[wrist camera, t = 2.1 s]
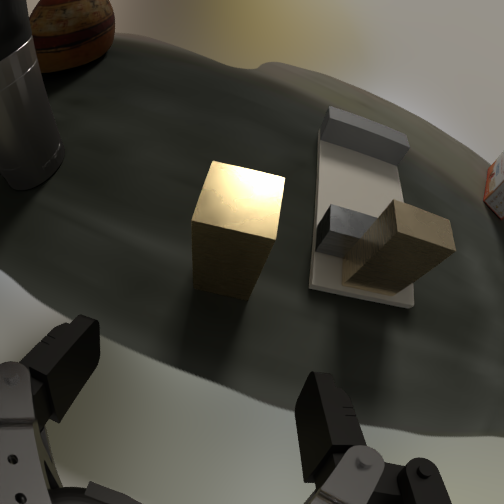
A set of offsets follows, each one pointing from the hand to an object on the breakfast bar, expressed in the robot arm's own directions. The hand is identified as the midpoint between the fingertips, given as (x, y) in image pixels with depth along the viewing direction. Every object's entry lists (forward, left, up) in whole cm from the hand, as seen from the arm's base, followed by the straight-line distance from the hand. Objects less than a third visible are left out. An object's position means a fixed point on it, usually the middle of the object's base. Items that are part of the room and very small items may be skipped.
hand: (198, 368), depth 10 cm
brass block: (0, +11, -15) cm, 18 cm away
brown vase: (-42, +48, -15) cm, 65 cm away
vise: (+14, +23, -15) cm, 31 cm away
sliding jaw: (+14, +14, -13) cm, 24 cm away
